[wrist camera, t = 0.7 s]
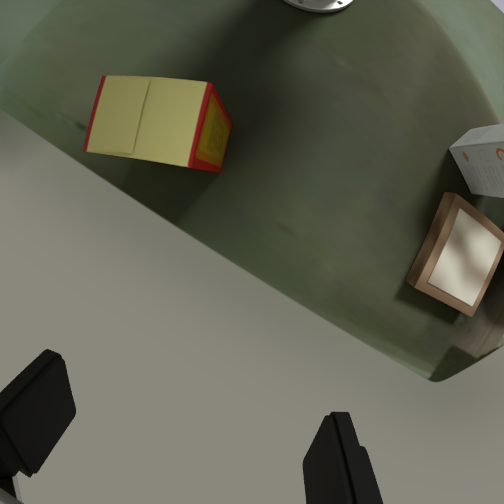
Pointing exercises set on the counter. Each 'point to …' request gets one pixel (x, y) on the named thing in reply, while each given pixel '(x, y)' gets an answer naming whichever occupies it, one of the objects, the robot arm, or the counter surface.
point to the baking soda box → (160, 121)
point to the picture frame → (457, 255)
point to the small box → (482, 159)
